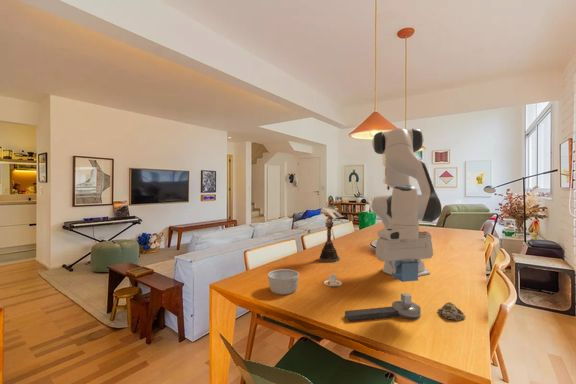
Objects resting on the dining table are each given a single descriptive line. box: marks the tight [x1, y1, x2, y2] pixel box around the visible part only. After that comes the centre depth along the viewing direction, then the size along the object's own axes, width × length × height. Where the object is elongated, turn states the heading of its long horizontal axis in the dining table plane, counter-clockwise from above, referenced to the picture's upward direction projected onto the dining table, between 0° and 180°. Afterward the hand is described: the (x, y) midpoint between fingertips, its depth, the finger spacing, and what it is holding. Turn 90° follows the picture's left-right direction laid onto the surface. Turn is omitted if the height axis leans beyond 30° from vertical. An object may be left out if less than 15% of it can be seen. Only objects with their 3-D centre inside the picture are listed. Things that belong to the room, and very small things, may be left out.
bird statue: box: [319, 201, 346, 263], centre depth 162 cm, size 17×13×35 cm
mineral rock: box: [437, 302, 466, 322], centre depth 93 cm, size 11×4×8 cm
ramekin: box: [267, 268, 300, 296], centre depth 116 cm, size 13×13×7 cm
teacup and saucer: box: [323, 273, 343, 287], centre depth 124 cm, size 9×8×4 cm
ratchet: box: [344, 292, 422, 323], centre depth 93 cm, size 26×9×6 cm, turn 100°
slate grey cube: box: [391, 260, 419, 283], centre depth 94 cm, size 6×6×6 cm
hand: (404, 272), depth 94 cm, fingers closed on slate grey cube, 6 cm apart
